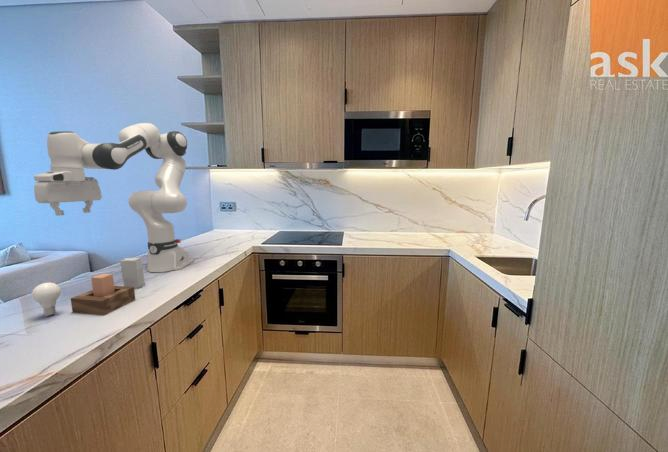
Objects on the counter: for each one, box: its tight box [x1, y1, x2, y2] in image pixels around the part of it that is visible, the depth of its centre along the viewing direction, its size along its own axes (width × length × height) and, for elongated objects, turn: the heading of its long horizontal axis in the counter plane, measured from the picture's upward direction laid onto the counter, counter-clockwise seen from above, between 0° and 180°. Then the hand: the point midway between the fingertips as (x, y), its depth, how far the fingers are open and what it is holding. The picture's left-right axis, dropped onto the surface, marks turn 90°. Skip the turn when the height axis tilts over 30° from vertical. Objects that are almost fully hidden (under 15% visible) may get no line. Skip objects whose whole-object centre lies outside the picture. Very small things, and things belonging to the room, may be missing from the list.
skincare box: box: [119, 257, 146, 289], centre depth 112 cm, size 6×4×12 cm
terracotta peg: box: [90, 273, 115, 297], centre depth 94 cm, size 4×4×10 cm
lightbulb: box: [31, 281, 62, 317], centre depth 87 cm, size 6×6×11 cm
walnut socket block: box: [70, 285, 136, 316], centre depth 95 cm, size 12×12×5 cm
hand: (74, 213), depth 102 cm, fingers open, 8 cm apart
